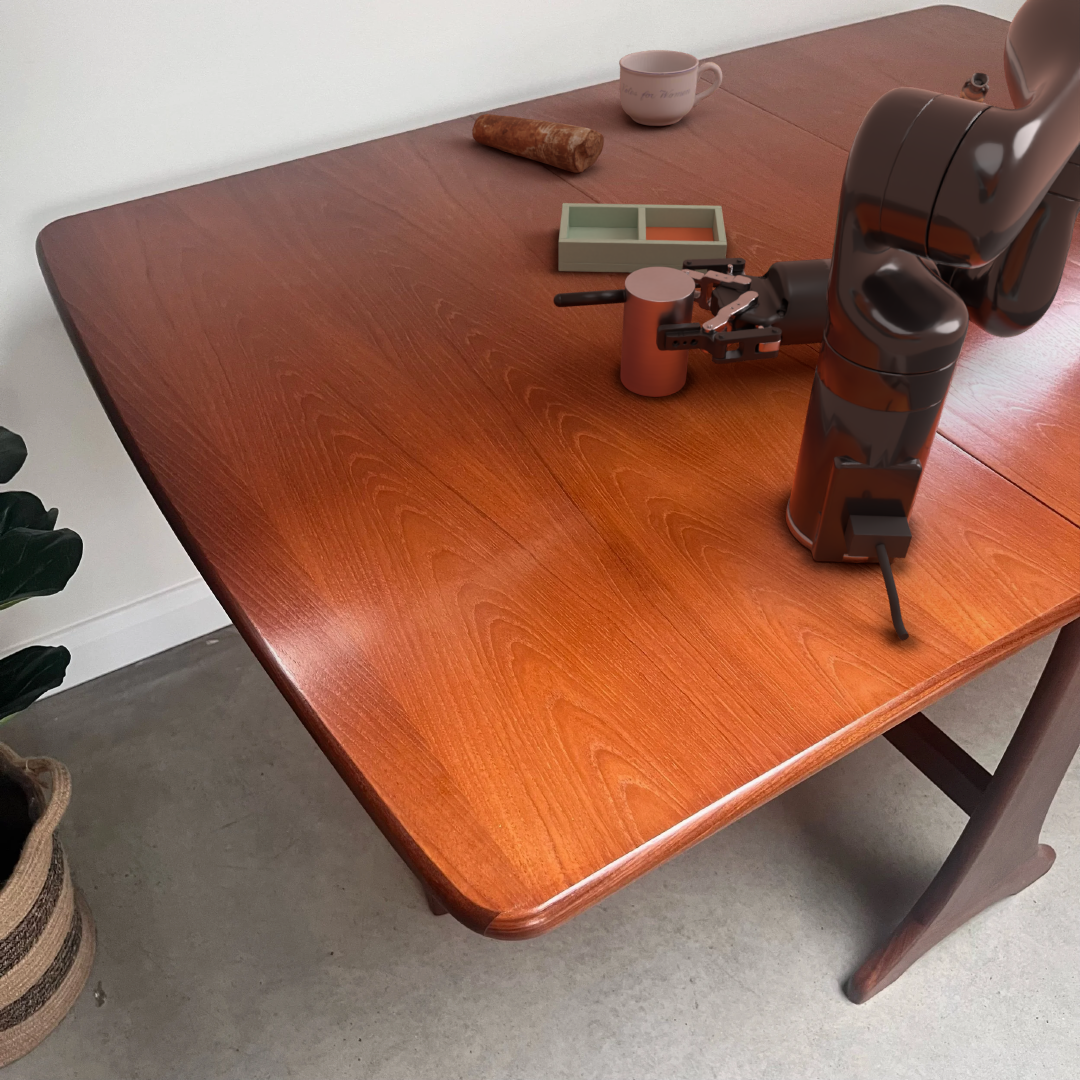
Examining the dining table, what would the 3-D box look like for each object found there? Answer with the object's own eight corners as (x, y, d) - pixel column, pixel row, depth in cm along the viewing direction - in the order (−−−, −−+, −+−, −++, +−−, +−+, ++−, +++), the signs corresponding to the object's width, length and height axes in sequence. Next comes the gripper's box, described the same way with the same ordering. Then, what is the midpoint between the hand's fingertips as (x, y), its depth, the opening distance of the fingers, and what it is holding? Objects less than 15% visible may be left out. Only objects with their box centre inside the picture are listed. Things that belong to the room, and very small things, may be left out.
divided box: (723, 274, 113) (727, 244, 111) (558, 271, 114) (558, 241, 112) (718, 234, 120) (721, 205, 118) (562, 231, 121) (562, 202, 119)
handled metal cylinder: (678, 358, 101) (686, 264, 95) (692, 394, 97) (702, 298, 90) (549, 367, 100) (549, 273, 94) (557, 404, 96) (557, 308, 89)
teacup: (608, 129, 143) (610, 68, 138) (627, 100, 151) (629, 42, 145) (709, 139, 140) (715, 78, 135) (722, 110, 148) (729, 51, 142)
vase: (985, 124, 143) (997, 79, 139) (944, 118, 145) (955, 74, 140) (991, 111, 146) (1003, 66, 142) (951, 105, 148) (962, 61, 144)
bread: (579, 183, 131) (580, 139, 127) (465, 147, 139) (462, 105, 135) (608, 166, 134) (610, 123, 130) (495, 132, 143) (493, 90, 139)
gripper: (806, 227, 98) (636, 237, 97) (856, 304, 87) (666, 317, 86) (794, 298, 103) (632, 309, 102) (840, 379, 93) (660, 392, 91)
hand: (648, 313), depth 94 cm, fingers open, 8 cm apart
